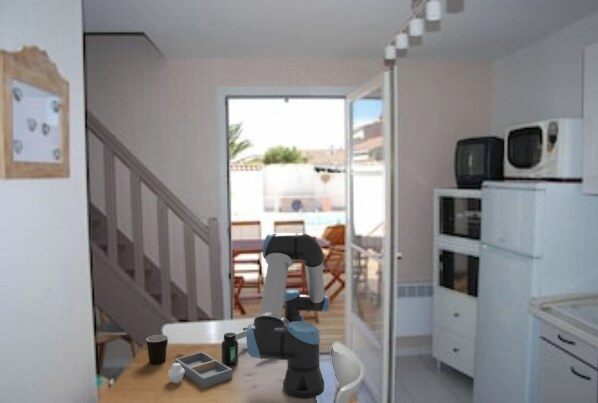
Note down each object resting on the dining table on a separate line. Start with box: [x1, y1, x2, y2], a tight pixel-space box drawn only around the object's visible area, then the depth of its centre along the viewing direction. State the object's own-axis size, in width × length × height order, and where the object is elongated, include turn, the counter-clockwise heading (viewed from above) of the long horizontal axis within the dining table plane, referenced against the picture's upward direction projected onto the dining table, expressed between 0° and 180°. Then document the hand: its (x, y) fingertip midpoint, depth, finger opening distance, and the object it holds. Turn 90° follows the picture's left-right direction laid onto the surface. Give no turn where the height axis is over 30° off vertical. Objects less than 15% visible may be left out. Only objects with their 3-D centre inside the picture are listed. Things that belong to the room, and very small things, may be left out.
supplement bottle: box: [220, 332, 239, 367], centre depth 176 cm, size 7×7×12 cm
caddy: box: [174, 351, 233, 389], centre depth 167 cm, size 23×12×4 cm, turn 41°
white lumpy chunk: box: [167, 362, 185, 384], centre depth 159 cm, size 6×6×7 cm
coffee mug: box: [145, 334, 169, 366], centre depth 179 cm, size 12×9×10 cm
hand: (246, 340), depth 184 cm, fingers open, 13 cm apart
